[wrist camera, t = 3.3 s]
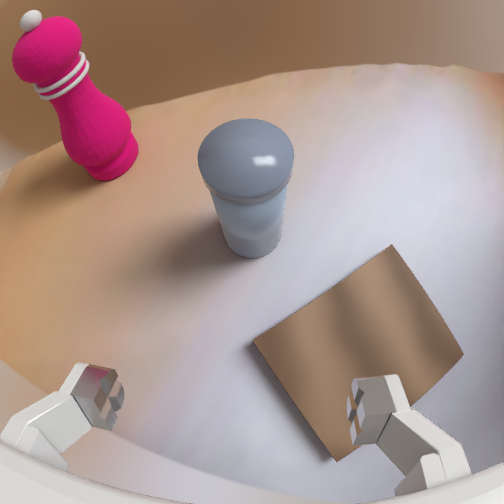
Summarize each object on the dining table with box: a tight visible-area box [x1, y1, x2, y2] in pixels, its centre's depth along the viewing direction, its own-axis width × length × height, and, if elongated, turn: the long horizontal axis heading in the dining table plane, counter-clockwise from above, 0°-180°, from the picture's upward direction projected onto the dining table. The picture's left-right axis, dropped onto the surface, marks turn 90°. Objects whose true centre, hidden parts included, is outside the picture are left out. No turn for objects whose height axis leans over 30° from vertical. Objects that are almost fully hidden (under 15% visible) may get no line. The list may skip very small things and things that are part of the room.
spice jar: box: [198, 119, 294, 258], centre depth 22 cm, size 5×5×11 cm
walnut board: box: [253, 244, 464, 462], centre depth 23 cm, size 14×12×2 cm
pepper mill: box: [12, 10, 138, 181], centre depth 22 cm, size 7×7×20 cm
